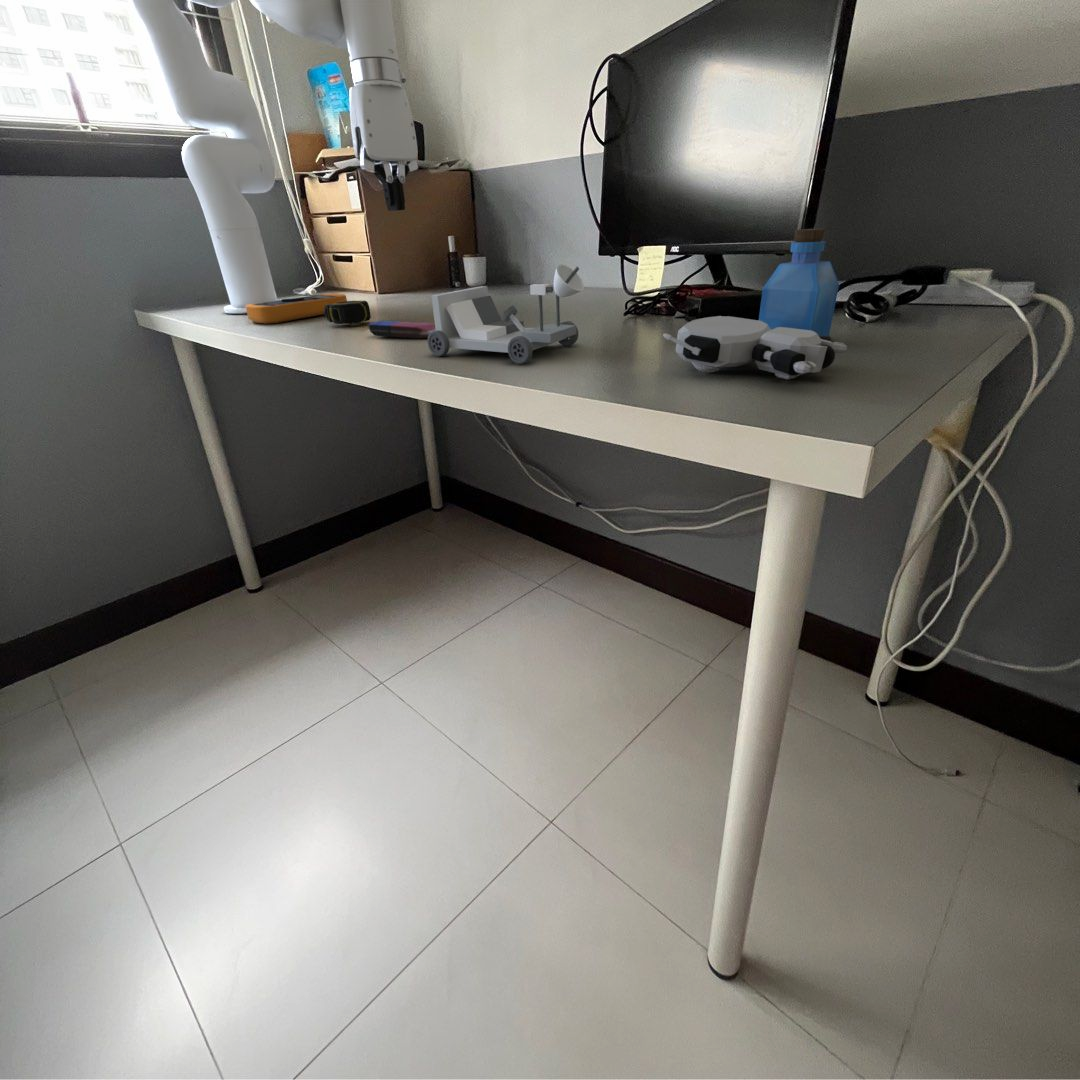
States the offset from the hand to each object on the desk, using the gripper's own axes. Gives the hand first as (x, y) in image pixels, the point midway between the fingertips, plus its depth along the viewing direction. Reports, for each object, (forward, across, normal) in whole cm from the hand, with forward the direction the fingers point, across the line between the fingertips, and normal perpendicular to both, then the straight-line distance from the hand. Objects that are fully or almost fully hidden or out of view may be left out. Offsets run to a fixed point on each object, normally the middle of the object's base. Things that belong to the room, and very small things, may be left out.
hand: (396, 210), depth 100 cm
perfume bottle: (+17, -8, +70) cm, 73 cm away
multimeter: (+17, +14, -18) cm, 29 cm away
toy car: (+17, +14, +44) cm, 49 cm away
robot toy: (+17, +8, +73) cm, 75 cm away
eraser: (+17, +15, +21) cm, 31 cm away
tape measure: (+17, +14, +1) cm, 22 cm away
